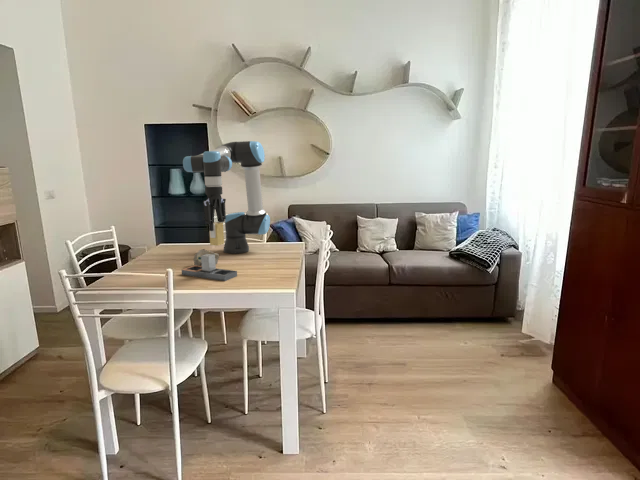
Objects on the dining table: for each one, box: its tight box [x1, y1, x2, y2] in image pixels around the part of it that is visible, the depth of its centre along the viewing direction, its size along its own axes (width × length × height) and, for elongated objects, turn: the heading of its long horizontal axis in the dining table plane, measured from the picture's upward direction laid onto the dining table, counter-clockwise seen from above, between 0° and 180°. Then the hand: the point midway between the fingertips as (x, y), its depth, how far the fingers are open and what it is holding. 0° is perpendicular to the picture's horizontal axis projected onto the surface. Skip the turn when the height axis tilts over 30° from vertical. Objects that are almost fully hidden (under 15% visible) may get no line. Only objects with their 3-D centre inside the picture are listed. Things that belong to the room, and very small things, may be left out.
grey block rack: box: [181, 264, 238, 282], centre depth 200 cm, size 9×26×3 cm, turn 64°
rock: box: [193, 248, 220, 266], centre depth 219 cm, size 12×7×10 cm, turn 93°
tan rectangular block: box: [209, 221, 225, 247], centre depth 195 cm, size 4×4×10 cm
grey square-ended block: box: [201, 254, 217, 273], centre depth 200 cm, size 4×4×10 cm
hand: (216, 236), depth 195 cm, fingers closed on tan rectangular block, 4 cm apart
